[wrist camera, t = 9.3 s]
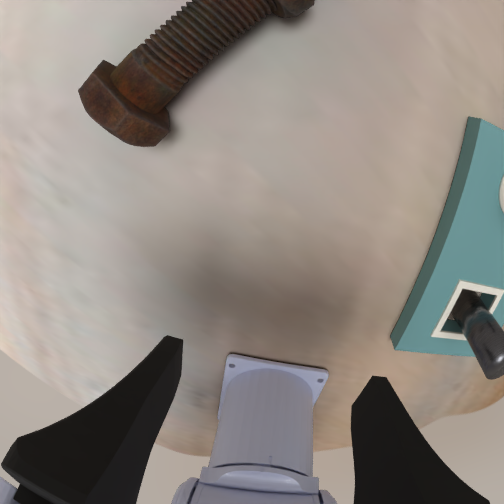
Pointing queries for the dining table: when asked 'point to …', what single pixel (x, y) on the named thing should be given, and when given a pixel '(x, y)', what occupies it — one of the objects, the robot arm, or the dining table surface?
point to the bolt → (169, 65)
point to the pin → (481, 332)
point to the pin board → (461, 250)
